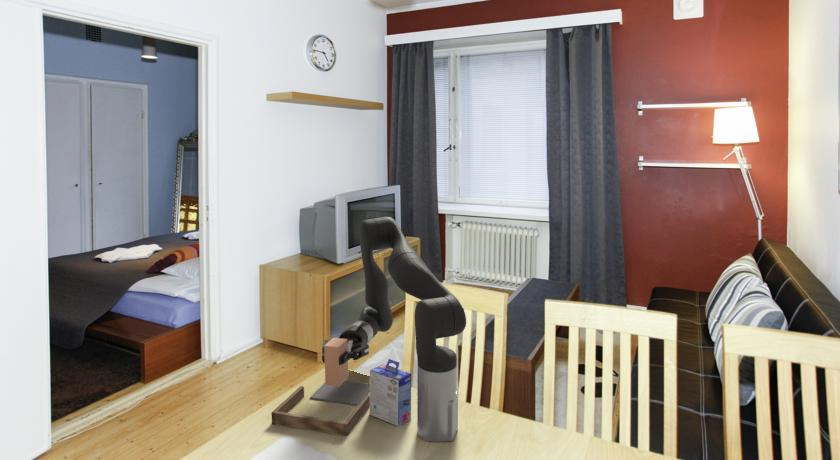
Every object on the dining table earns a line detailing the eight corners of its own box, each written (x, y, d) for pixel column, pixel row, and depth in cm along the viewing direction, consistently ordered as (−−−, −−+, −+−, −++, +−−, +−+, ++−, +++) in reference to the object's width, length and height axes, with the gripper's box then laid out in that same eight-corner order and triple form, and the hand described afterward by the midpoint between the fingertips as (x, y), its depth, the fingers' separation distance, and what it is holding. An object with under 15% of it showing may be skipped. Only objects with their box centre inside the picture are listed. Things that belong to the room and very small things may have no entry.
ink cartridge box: (412, 418, 140) (412, 364, 138) (398, 427, 136) (398, 371, 133) (383, 406, 146) (382, 354, 143) (368, 415, 142) (367, 361, 139)
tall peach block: (348, 377, 152) (347, 339, 150) (339, 386, 146) (338, 347, 144) (334, 375, 153) (333, 337, 151) (325, 384, 147) (324, 345, 145)
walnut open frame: (369, 406, 146) (369, 395, 145) (347, 435, 132) (346, 424, 131) (300, 396, 151) (300, 386, 151) (271, 423, 137) (271, 412, 137)
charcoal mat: (374, 385, 158) (374, 384, 158) (358, 405, 146) (358, 404, 146) (329, 379, 161) (329, 378, 161) (310, 398, 150) (310, 397, 150)
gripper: (333, 322, 163) (306, 344, 147) (379, 327, 160) (356, 350, 143) (334, 346, 165) (307, 370, 148) (379, 352, 161) (357, 377, 145)
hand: (332, 360), depth 146 cm, fingers closed on tall peach block, 4 cm apart
